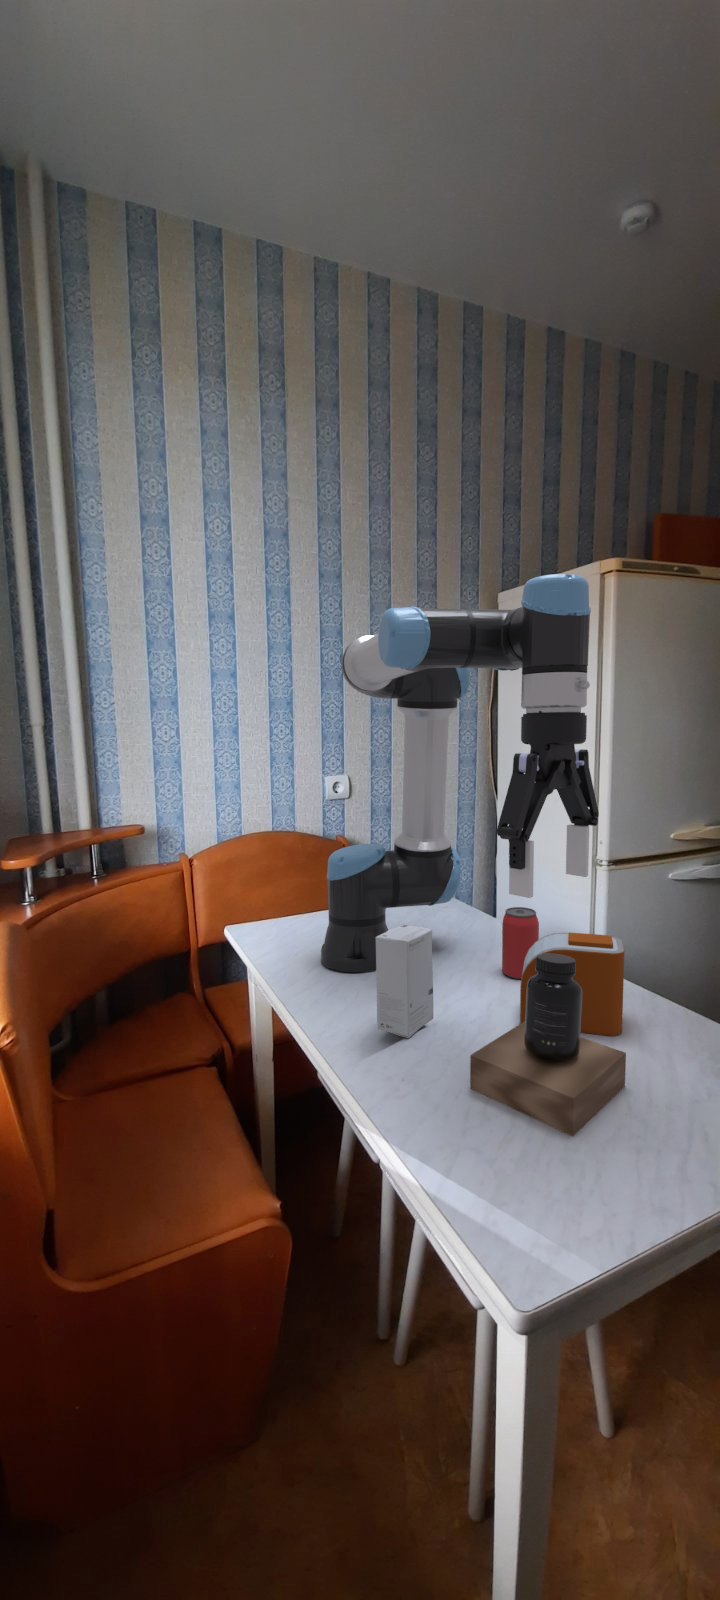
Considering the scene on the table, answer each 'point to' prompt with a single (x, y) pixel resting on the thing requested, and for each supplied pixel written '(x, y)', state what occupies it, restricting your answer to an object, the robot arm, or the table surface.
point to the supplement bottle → (553, 1009)
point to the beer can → (518, 939)
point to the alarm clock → (586, 977)
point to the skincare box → (404, 979)
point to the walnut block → (548, 1080)
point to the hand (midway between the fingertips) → (550, 885)
